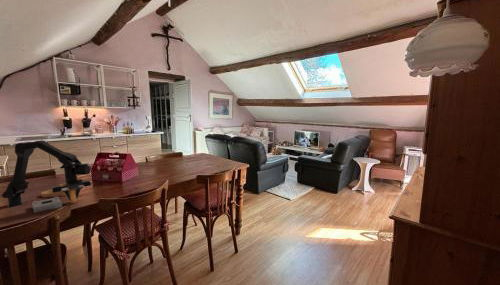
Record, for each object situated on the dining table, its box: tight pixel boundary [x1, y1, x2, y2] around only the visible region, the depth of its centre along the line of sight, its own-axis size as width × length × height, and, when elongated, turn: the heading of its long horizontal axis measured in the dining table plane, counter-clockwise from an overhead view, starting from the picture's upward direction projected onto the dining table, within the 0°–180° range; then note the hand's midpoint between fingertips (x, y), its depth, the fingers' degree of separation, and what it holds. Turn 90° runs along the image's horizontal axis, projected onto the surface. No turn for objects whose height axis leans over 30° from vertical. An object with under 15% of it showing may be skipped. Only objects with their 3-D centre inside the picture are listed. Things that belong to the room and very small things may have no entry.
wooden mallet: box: [40, 182, 69, 198], centre depth 153 cm, size 18×8×7 cm, turn 107°
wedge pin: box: [68, 188, 78, 204], centre depth 139 cm, size 4×4×8 cm
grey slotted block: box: [32, 196, 63, 214], centre depth 132 cm, size 12×12×4 cm
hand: (73, 199), depth 139 cm, fingers closed on wedge pin, 3 cm apart
